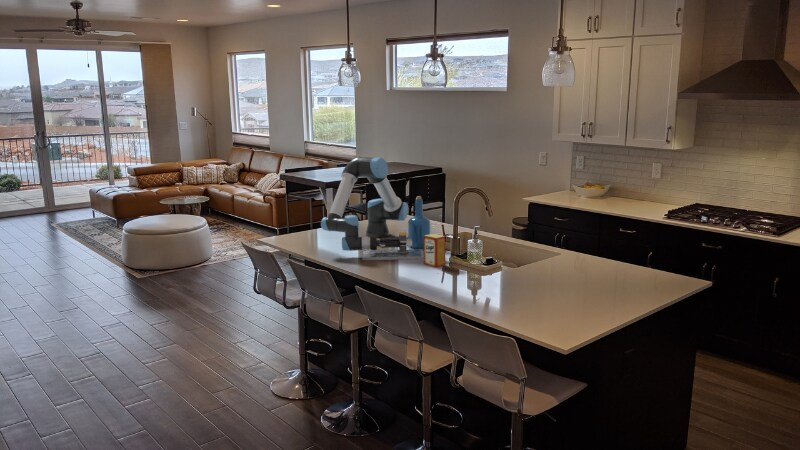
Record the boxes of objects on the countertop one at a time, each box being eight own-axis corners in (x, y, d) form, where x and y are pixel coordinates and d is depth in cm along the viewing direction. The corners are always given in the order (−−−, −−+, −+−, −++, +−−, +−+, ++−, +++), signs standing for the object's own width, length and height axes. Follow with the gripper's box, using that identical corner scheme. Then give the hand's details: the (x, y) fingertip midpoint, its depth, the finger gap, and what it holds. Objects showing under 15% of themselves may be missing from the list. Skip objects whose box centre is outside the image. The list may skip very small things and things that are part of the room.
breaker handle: (397, 251, 357) (397, 231, 355) (408, 251, 358) (407, 231, 355) (397, 253, 353) (397, 233, 351) (408, 253, 353) (408, 233, 351)
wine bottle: (431, 249, 370) (430, 198, 364) (408, 249, 370) (407, 198, 364) (430, 243, 383) (430, 194, 377) (408, 243, 384) (407, 194, 378)
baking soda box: (423, 264, 337) (423, 234, 334) (432, 262, 341) (432, 232, 338) (436, 267, 330) (436, 237, 327) (445, 265, 334) (445, 235, 331)
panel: (363, 253, 363) (363, 250, 362) (419, 251, 364) (419, 249, 363) (362, 260, 347) (362, 257, 347) (421, 258, 348) (421, 256, 348)
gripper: (370, 246, 363) (411, 245, 363) (369, 253, 346) (412, 252, 347) (369, 233, 361) (410, 232, 362) (369, 240, 344) (412, 239, 345)
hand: (411, 242), depth 354 cm, fingers closed on breaker handle, 4 cm apart
